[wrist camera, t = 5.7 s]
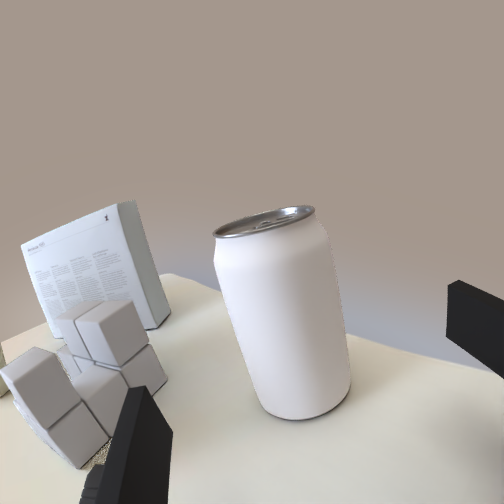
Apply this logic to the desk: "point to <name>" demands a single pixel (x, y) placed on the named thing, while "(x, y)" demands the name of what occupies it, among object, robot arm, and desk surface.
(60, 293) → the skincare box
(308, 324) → the can
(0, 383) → the mug
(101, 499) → the robot arm
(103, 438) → the stacked white cubes
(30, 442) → the desk surface
